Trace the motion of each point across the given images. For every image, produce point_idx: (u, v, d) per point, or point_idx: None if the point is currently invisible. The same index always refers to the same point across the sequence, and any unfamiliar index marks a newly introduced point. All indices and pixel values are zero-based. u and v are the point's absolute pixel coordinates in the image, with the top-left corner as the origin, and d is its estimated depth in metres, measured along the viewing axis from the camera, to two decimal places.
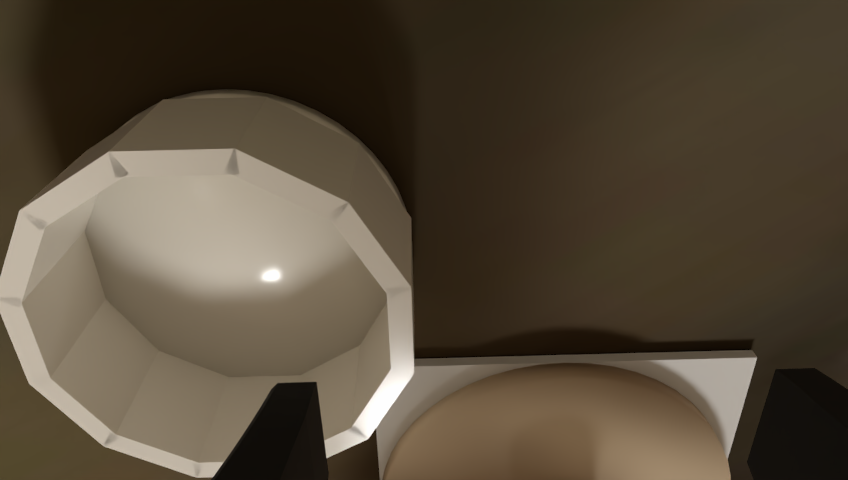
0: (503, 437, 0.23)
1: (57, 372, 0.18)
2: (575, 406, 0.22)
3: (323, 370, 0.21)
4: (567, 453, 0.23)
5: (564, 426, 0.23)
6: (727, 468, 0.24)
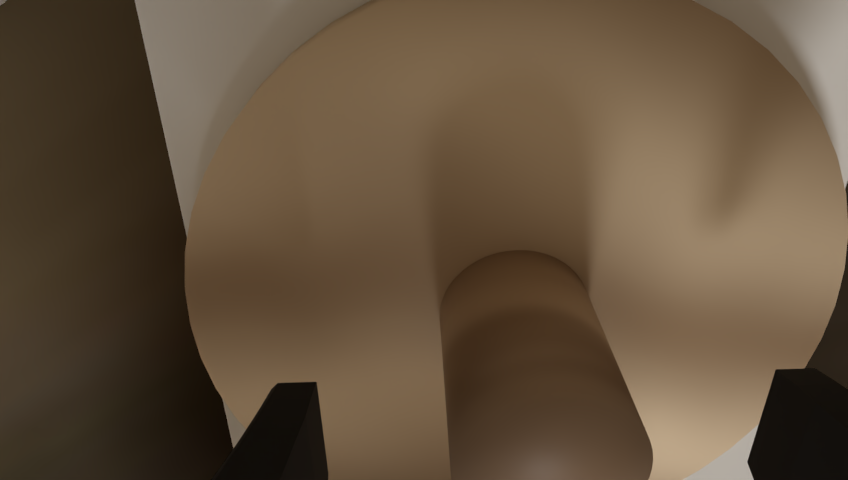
0: (406, 133, 0.12)
1: None
2: (547, 50, 0.11)
3: None
4: (534, 175, 0.12)
5: (525, 104, 0.11)
6: (844, 214, 0.12)
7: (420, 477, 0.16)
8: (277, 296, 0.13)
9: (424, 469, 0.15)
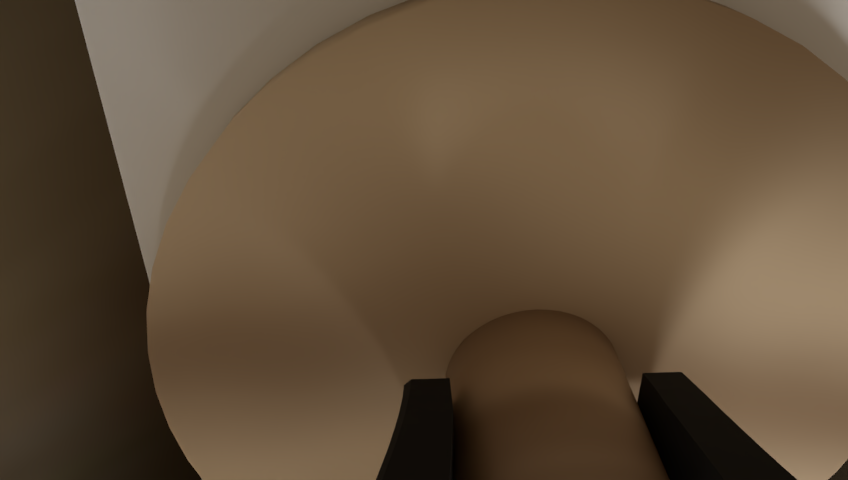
0: (406, 177, 0.10)
1: None
2: (577, 79, 0.09)
3: None
4: (558, 225, 0.10)
5: (550, 144, 0.09)
6: None
7: None
8: (256, 360, 0.11)
9: None
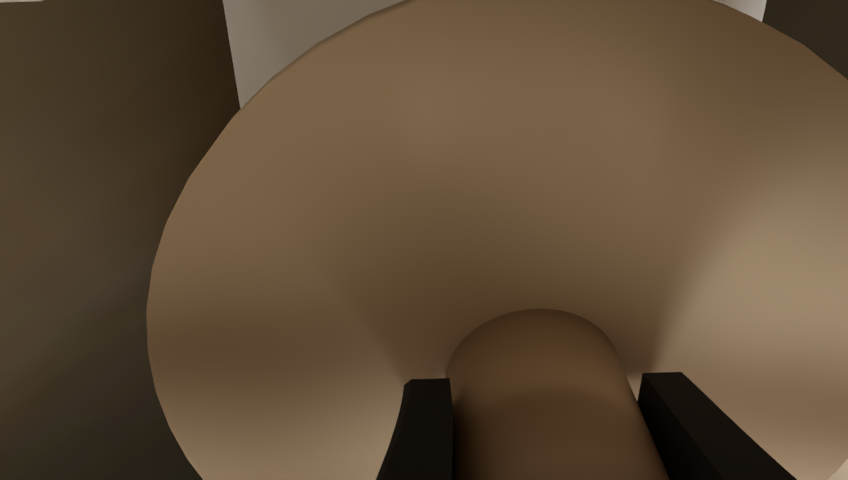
0: (406, 176, 0.10)
1: None
2: (577, 78, 0.09)
3: None
4: (558, 224, 0.10)
5: (550, 142, 0.09)
6: None
7: None
8: (256, 359, 0.11)
9: None
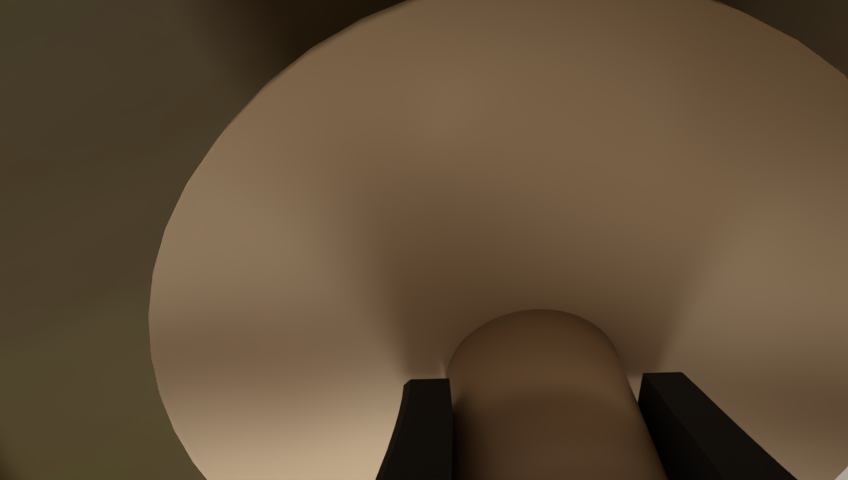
0: (401, 179, 0.10)
1: None
2: (570, 78, 0.09)
3: None
4: (555, 224, 0.10)
5: (544, 143, 0.09)
6: None
7: None
8: (257, 362, 0.11)
9: None
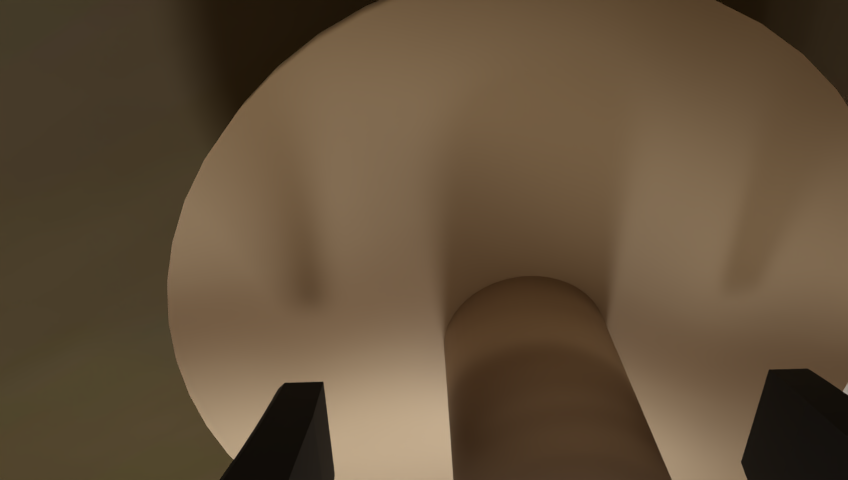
0: (403, 154, 0.10)
1: None
2: (556, 60, 0.10)
3: None
4: (544, 196, 0.11)
5: (533, 119, 0.10)
6: None
7: None
8: (268, 329, 0.12)
9: None
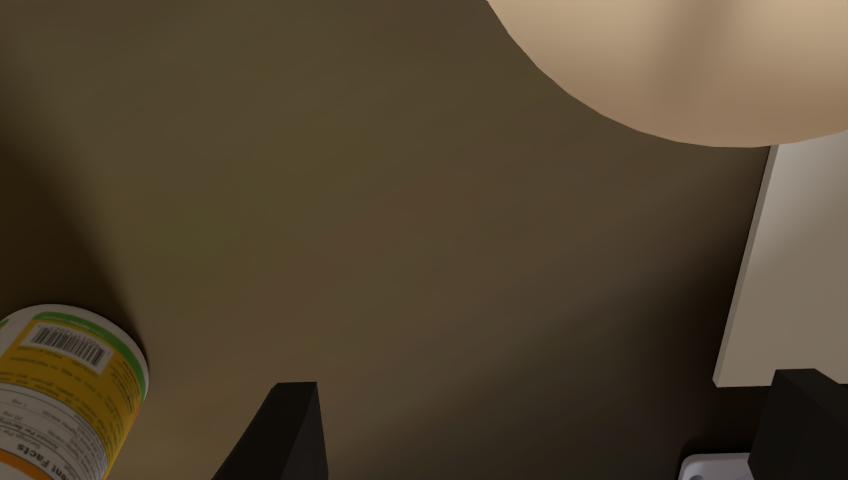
0: None
1: None
2: None
3: None
4: None
5: None
6: None
7: (671, 59, 0.13)
8: None
9: (677, 46, 0.13)
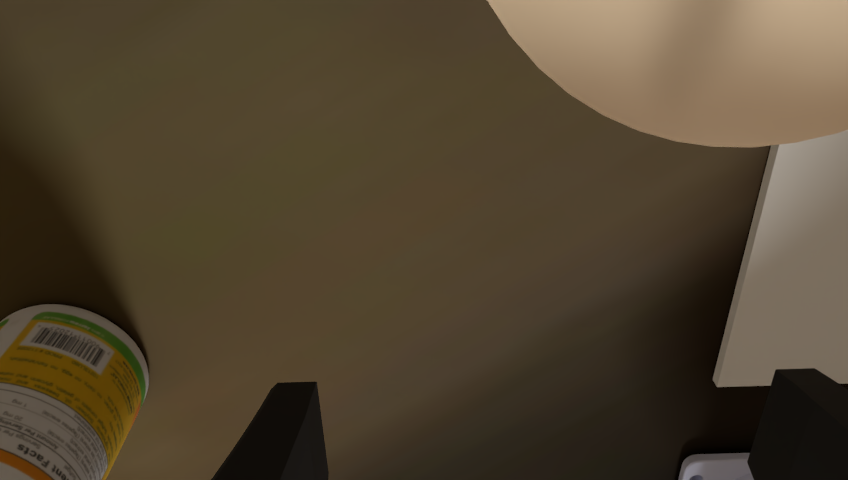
0: None
1: None
2: None
3: None
4: None
5: None
6: None
7: (671, 59, 0.13)
8: None
9: (677, 46, 0.13)
